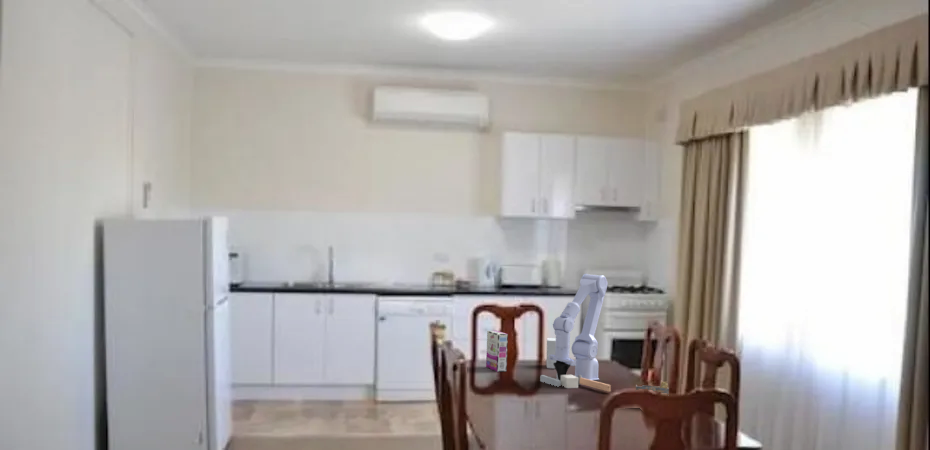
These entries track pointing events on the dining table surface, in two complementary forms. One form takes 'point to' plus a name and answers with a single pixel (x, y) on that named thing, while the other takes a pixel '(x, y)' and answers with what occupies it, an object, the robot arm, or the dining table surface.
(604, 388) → the tan flat bar
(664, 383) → the ruin model on sheet
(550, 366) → the supplement box
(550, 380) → the dock
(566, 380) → the white block
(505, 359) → the candy bar box
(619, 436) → the dining table surface
